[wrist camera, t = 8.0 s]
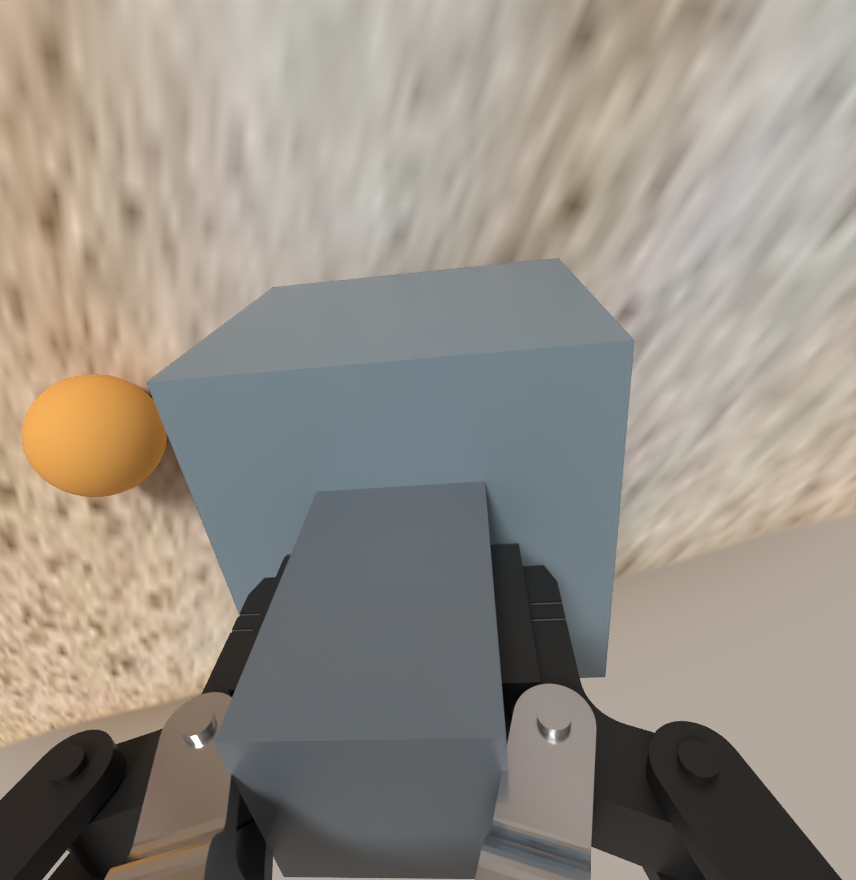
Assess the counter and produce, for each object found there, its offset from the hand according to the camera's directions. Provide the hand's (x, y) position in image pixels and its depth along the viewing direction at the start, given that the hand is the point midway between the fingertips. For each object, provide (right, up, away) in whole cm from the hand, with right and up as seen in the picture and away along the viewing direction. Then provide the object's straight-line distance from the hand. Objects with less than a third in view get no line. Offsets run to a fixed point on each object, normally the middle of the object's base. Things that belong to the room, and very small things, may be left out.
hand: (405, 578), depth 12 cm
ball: (-13, +3, +9) cm, 16 cm away
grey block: (+1, +5, +8) cm, 10 cm away
